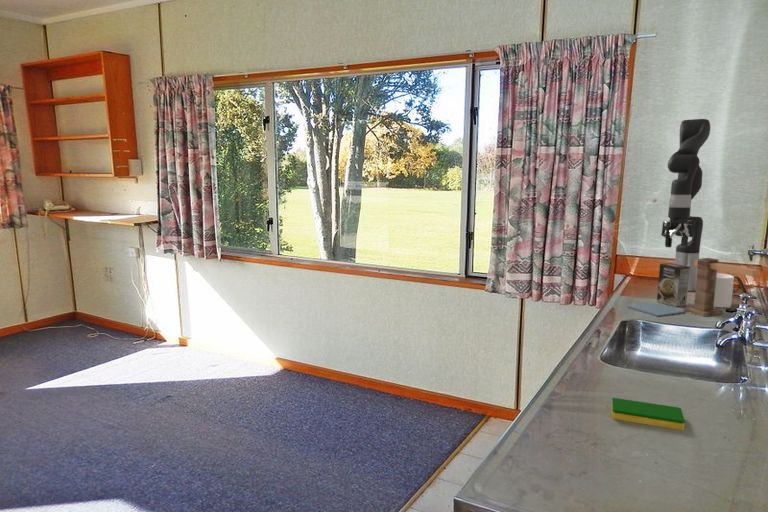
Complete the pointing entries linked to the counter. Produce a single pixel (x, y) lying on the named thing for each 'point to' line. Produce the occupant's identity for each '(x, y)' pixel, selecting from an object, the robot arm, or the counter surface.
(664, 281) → the coffee box
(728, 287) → the cup
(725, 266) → the bar
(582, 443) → the counter surface
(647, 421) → the dish sponge
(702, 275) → the guide stand
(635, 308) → the rubber mat
